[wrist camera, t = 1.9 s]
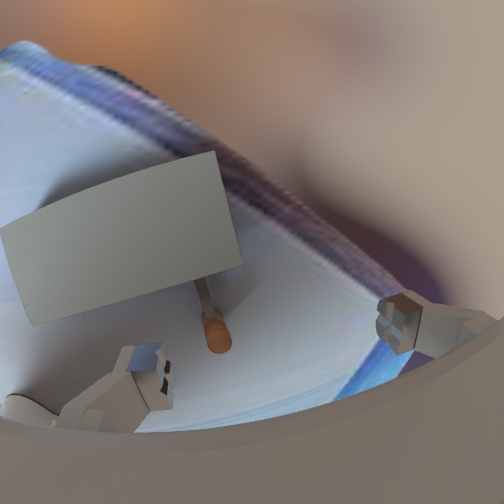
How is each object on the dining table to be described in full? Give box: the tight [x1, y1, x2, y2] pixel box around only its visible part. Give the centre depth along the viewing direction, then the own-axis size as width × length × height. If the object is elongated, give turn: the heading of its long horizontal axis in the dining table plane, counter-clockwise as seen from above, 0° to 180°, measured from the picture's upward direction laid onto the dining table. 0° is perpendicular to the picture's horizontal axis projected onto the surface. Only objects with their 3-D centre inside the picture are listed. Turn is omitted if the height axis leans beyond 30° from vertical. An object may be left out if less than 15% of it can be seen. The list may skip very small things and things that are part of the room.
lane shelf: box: [0, 150, 243, 326], centre depth 27 cm, size 11×25×7 cm, turn 104°
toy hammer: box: [194, 277, 232, 354], centre depth 30 cm, size 15×5×7 cm, turn 14°
